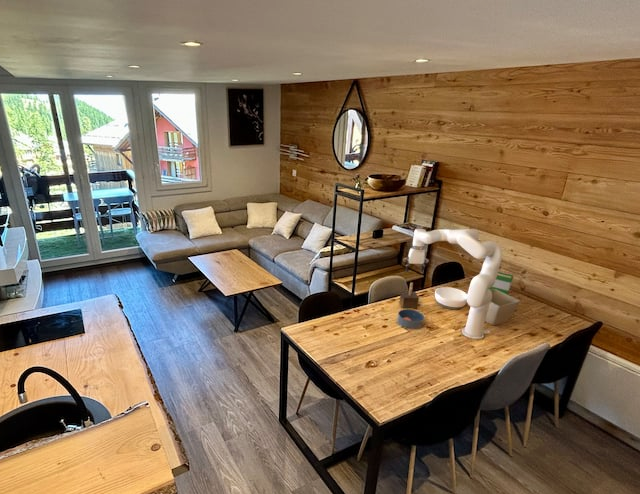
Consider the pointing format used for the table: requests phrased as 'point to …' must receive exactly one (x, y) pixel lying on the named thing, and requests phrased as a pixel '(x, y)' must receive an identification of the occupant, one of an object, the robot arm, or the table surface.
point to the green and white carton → (502, 283)
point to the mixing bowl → (415, 317)
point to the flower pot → (500, 307)
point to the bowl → (450, 298)
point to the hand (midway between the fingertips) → (414, 271)
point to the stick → (410, 288)
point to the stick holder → (409, 300)
